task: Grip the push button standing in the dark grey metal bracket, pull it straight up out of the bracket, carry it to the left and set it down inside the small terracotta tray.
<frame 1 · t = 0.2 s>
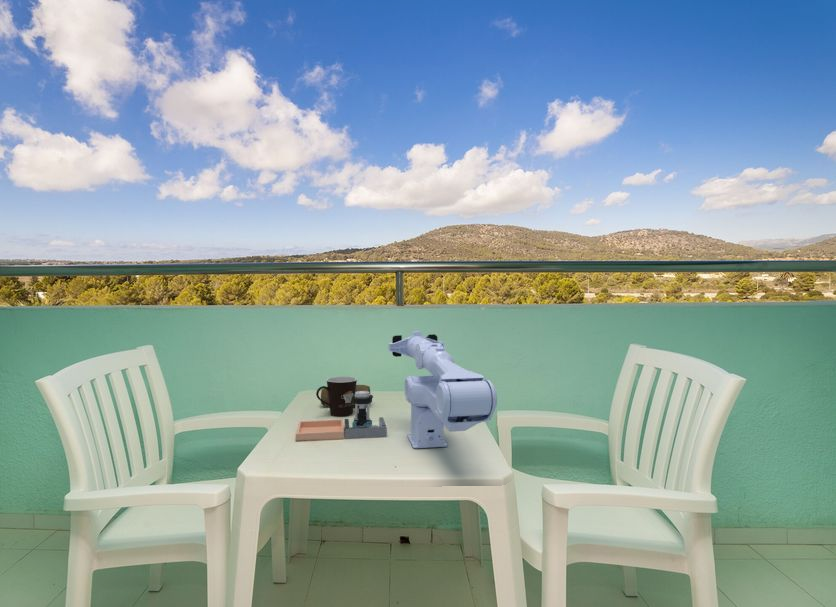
hand: (409, 341, 125), 21 cm above the table, tool horizontal, fingers open, 7 cm apart
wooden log: (345, 406, 138), on the table
tray: (320, 433, 111), on the table
bracket: (364, 431, 113), on the table
coffee mug: (336, 414, 129), on the table
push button: (364, 432, 113), on the table
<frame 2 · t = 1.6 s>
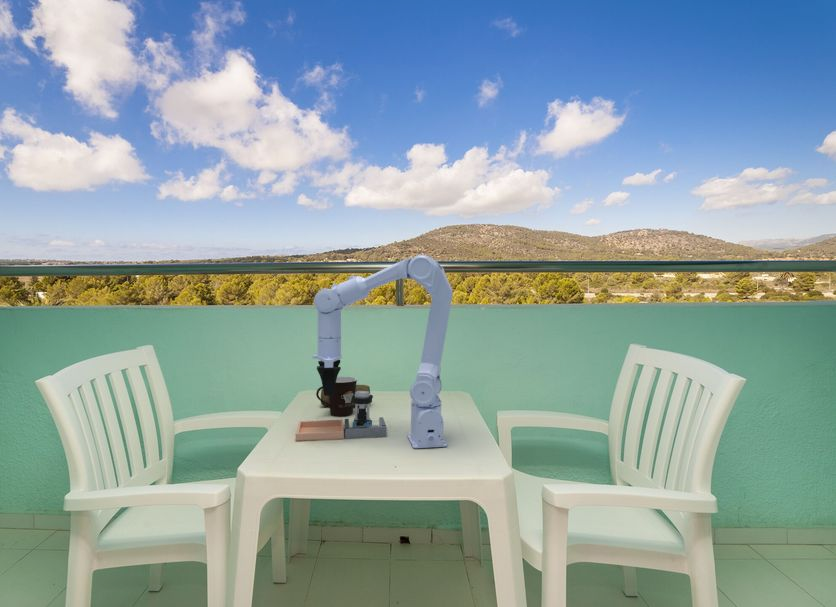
hand: (328, 391, 112), 10 cm above the table, tool pointing down, fingers open, 7 cm apart
nothing on the table moved.
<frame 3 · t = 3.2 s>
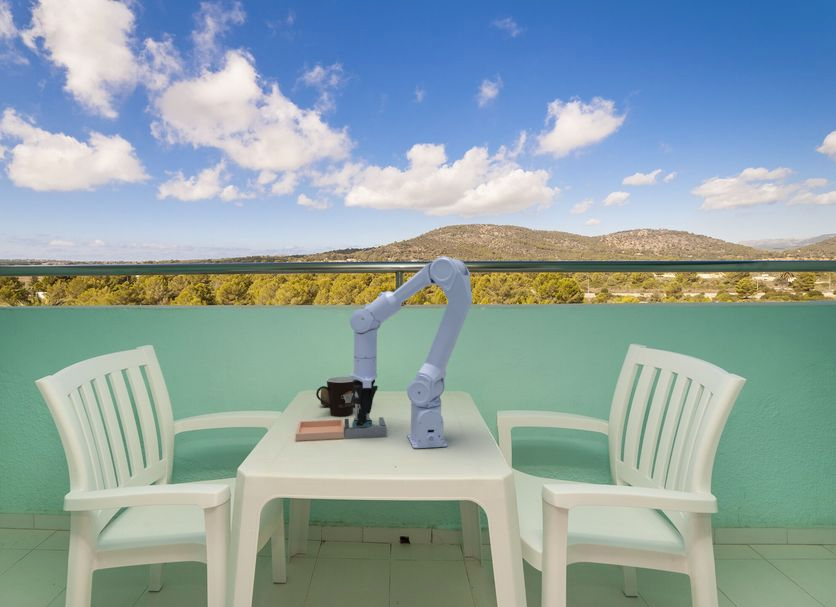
hand: (364, 410, 113), 5 cm above the table, tool pointing down, fingers closed on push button, 5 cm apart
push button: (364, 432, 114), on the table, touching gripper
everything else where it was.
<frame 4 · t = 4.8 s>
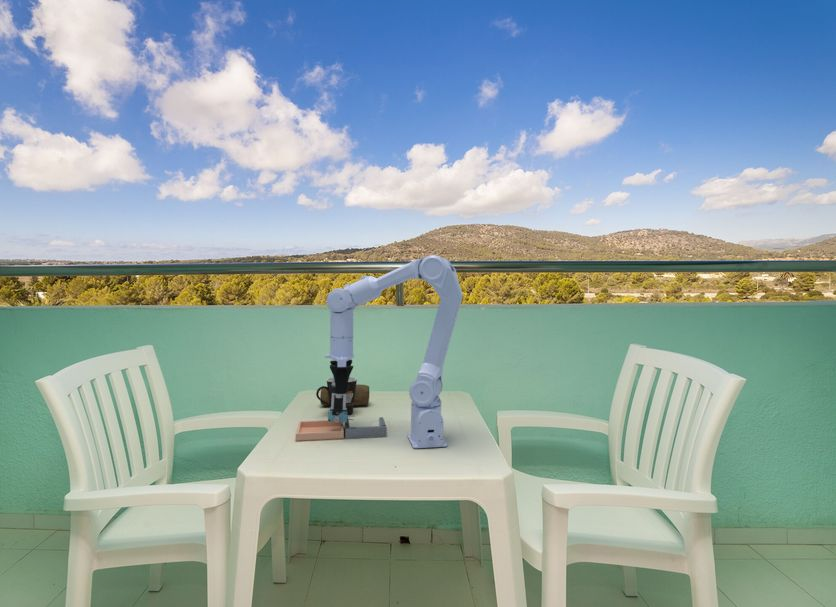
hand: (341, 390, 112), 11 cm above the table, tool pointing down, fingers closed on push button, 5 cm apart
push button: (340, 422, 112), point 3 cm above the table, touching gripper
everything else where it was.
when the fingers open (7 cm above the table, at t = 6.4 s): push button stays where it is, resting on tray.
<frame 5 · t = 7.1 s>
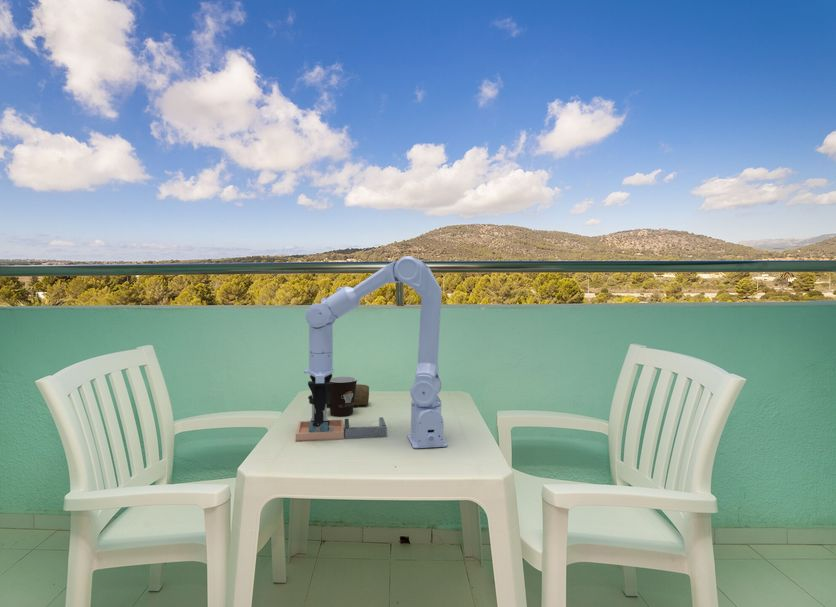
hand: (320, 406, 111), 7 cm above the table, tool pointing down, fingers open, 7 cm apart
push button: (321, 433, 111), resting on tray
everything else where it was.
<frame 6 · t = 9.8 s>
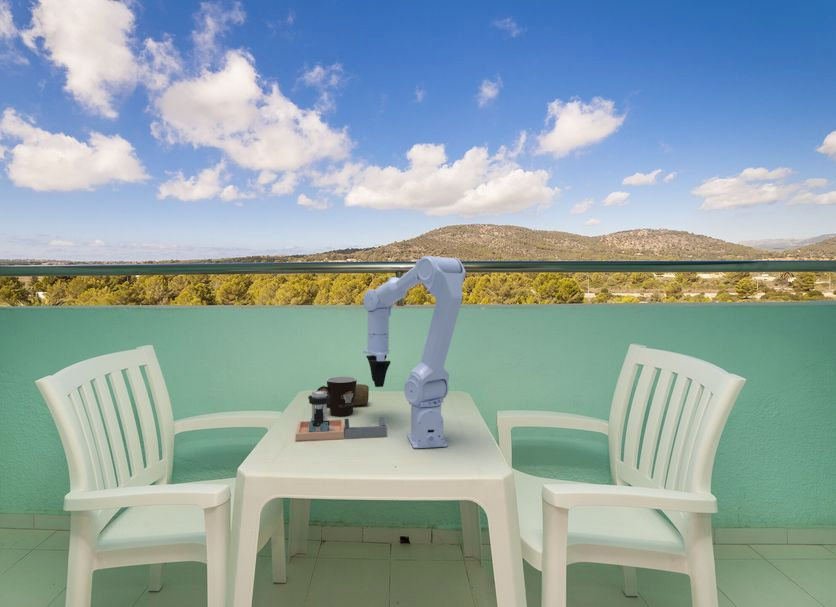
hand: (377, 383, 122), 10 cm above the table, tool pointing down, fingers open, 7 cm apart
nothing on the table moved.
at the end: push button inside the target area on the tray (0.3 cm from its centre), point 0.1 cm above the tray's base; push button tilted 0°; the gripper is holding nothing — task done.
